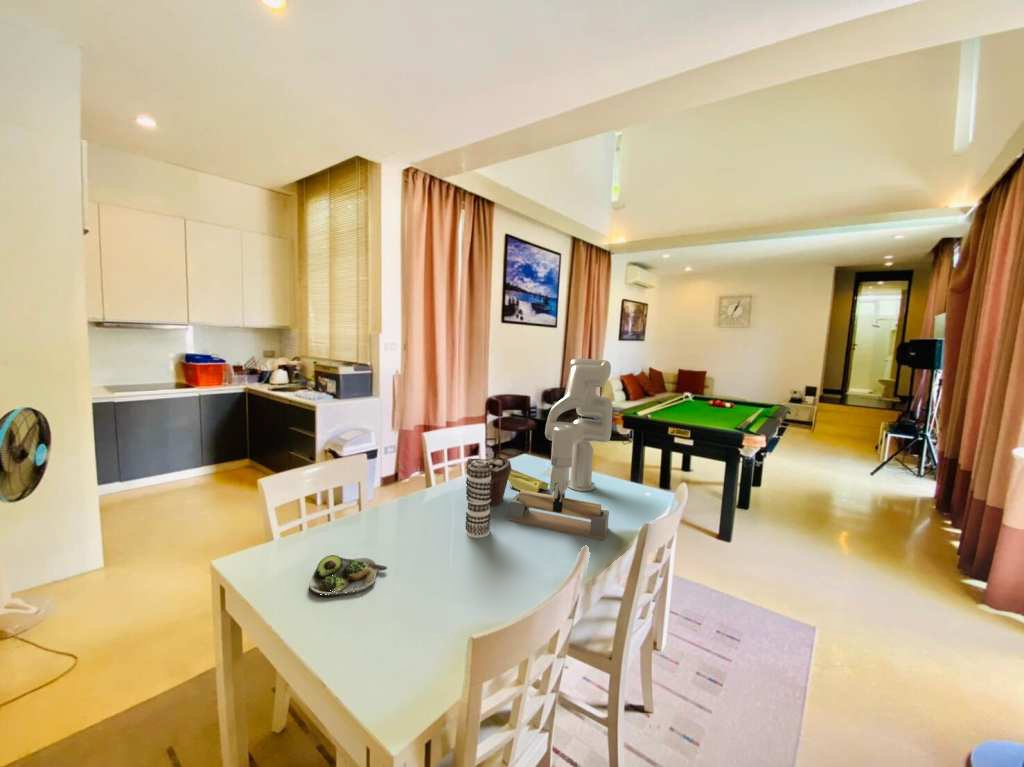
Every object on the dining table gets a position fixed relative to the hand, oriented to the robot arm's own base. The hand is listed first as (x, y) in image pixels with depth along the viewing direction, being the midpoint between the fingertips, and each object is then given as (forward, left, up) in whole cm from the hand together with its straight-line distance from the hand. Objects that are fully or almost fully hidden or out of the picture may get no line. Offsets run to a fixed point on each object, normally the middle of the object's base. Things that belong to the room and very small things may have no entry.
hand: (558, 509), depth 153 cm
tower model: (+18, -24, -6) cm, 30 cm away
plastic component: (-30, -22, -6) cm, 38 cm away
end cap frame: (0, 0, -6) cm, 6 cm away
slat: (0, 0, -1) cm, 1 cm away
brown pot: (-9, -32, -6) cm, 34 cm away
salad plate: (+58, -46, -6) cm, 74 cm away
